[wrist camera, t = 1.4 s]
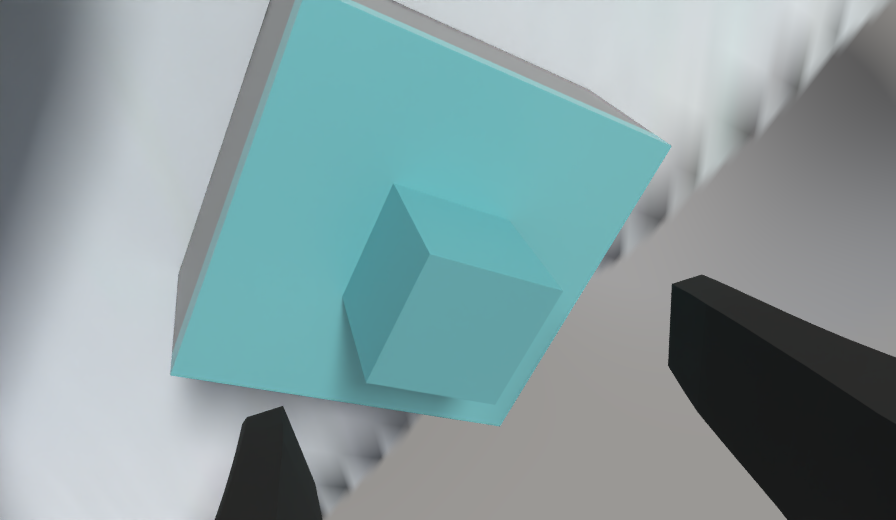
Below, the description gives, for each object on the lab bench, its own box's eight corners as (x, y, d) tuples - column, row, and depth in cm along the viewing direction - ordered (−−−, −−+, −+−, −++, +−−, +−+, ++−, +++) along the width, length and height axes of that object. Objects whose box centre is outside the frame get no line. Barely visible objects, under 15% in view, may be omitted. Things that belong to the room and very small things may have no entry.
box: (456, 335, 23) (490, 407, 20) (178, 274, 19) (172, 353, 16) (589, 90, 19) (653, 134, 17) (286, -49, 15) (302, -22, 13)
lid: (484, 393, 20) (541, 511, 17) (173, 337, 16) (162, 477, 13) (641, 125, 17) (754, 201, 14) (299, -28, 13) (331, 26, 10)
